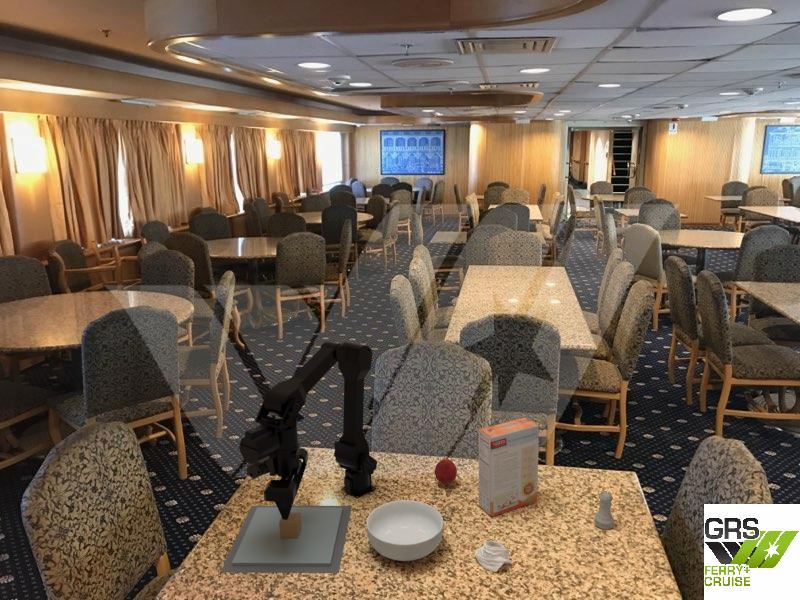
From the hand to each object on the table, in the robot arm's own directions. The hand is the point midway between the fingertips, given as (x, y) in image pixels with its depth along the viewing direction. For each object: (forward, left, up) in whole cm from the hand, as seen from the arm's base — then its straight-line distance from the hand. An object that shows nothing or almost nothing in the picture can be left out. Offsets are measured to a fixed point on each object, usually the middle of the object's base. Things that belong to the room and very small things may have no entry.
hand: (289, 507), depth 141 cm
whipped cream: (-26, +37, -8) cm, 46 cm away
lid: (0, 0, -7) cm, 7 cm away
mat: (0, 0, -8) cm, 8 cm away
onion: (-42, +9, -8) cm, 44 cm away
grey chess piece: (-55, +47, -8) cm, 73 cm away
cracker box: (-46, +26, -8) cm, 53 cm away
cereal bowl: (-16, +21, -8) cm, 28 cm away
